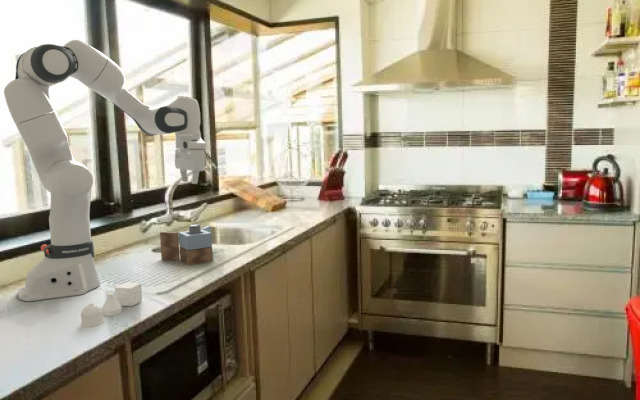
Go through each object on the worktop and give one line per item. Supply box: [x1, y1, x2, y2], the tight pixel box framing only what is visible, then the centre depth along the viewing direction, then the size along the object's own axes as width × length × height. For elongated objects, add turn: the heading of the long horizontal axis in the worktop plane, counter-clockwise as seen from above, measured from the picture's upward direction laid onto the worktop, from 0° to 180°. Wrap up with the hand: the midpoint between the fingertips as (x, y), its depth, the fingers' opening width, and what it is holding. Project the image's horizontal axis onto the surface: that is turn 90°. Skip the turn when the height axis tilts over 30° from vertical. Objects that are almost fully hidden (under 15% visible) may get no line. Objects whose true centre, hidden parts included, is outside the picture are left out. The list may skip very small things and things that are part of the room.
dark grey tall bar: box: [188, 223, 202, 235], centre depth 189 cm, size 4×4×13 cm
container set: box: [80, 282, 143, 328], centre depth 136 cm, size 20×5×6 cm, turn 165°
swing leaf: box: [178, 225, 213, 250], centre depth 193 cm, size 14×14×10 cm
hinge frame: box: [159, 231, 214, 266], centre depth 190 cm, size 14×14×10 cm
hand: (189, 182), depth 185 cm, fingers open, 8 cm apart
